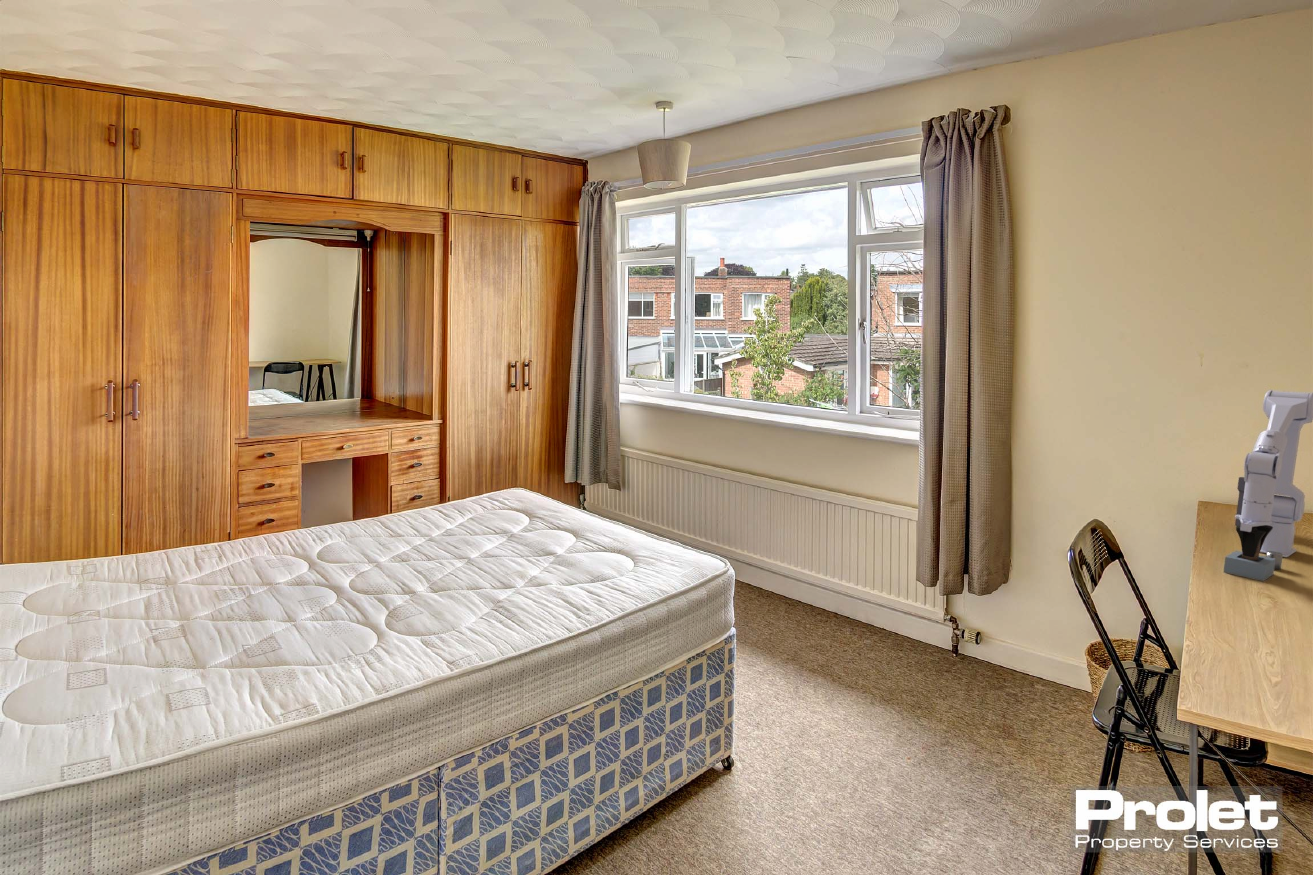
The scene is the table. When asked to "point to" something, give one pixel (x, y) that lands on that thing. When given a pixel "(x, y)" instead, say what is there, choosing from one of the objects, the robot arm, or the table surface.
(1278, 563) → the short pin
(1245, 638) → the table surface
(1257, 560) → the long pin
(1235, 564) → the hole block
